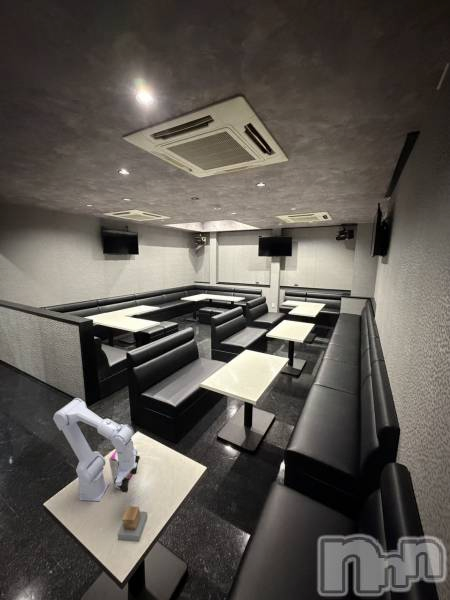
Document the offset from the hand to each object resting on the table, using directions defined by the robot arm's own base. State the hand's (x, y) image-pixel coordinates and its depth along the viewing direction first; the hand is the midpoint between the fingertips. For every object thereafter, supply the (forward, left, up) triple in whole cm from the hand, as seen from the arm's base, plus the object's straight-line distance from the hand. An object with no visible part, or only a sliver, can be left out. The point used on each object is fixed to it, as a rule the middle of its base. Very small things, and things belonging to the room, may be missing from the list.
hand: (129, 482), depth 98 cm
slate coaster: (+5, -9, -11) cm, 15 cm away
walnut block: (+5, -9, -8) cm, 13 cm away
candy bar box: (-8, +10, -11) cm, 17 cm away
